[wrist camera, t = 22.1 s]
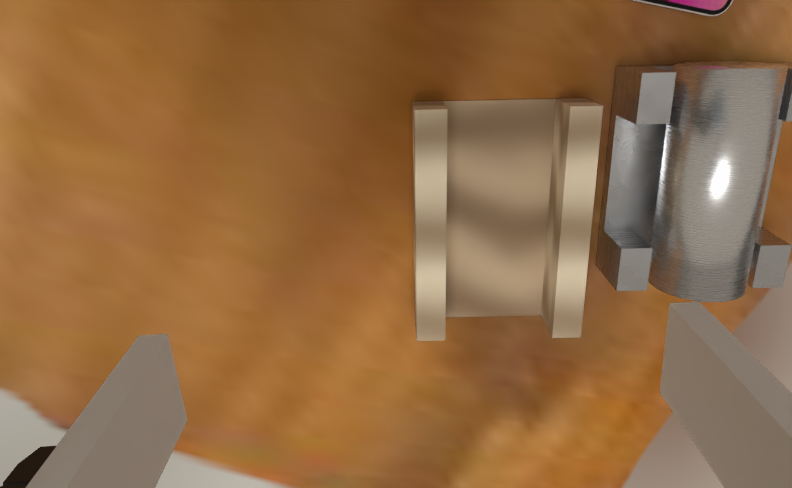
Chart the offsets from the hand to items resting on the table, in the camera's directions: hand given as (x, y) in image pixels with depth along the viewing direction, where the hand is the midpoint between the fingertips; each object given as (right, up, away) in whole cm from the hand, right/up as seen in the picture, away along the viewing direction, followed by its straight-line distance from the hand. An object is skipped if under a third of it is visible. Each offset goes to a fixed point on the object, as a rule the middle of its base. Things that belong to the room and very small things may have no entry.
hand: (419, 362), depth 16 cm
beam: (+6, +5, +28) cm, 29 cm away
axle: (+20, +8, +25) cm, 33 cm away
